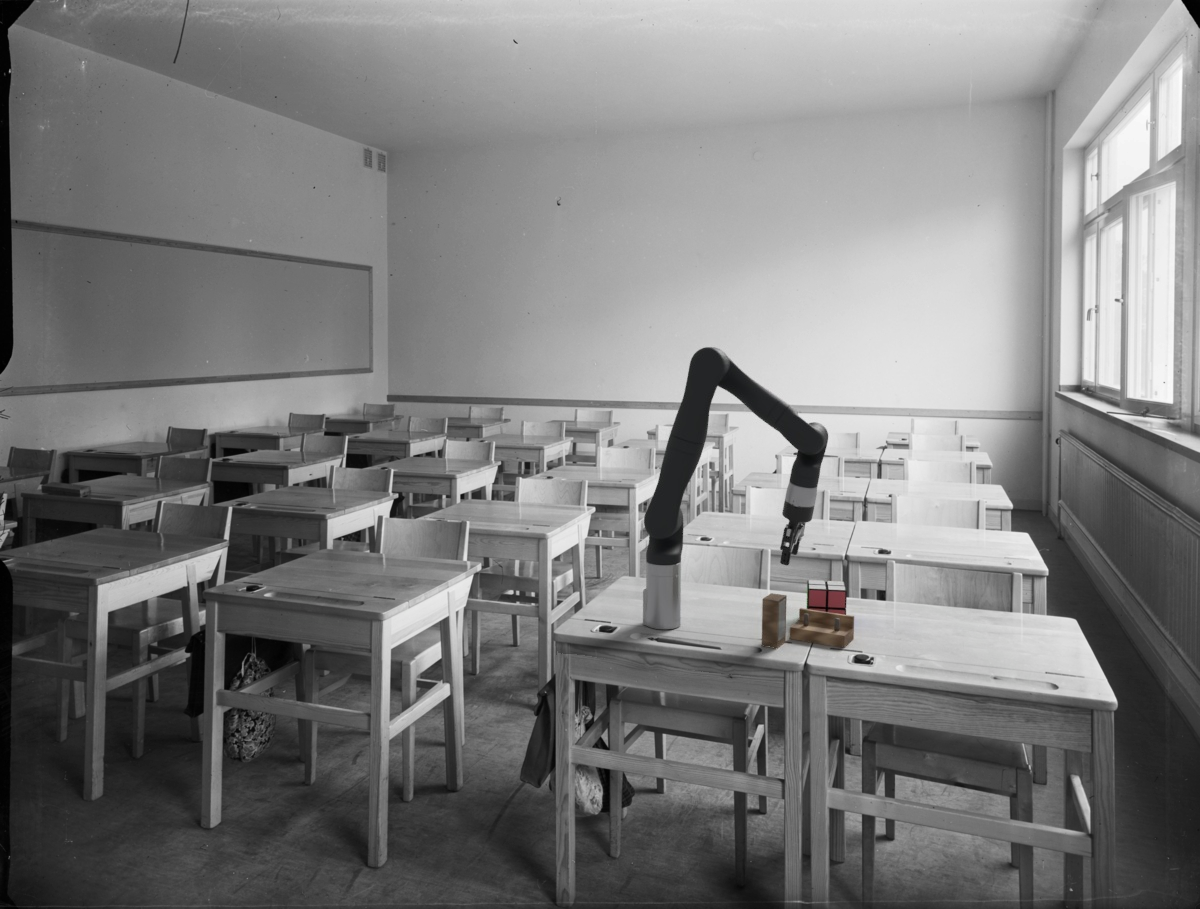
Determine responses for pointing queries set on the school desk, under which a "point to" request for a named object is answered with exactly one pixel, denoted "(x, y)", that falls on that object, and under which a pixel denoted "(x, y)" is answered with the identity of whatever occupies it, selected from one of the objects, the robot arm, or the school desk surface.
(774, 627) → the wooden blocks
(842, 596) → the puzzle cube
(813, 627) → the wooden peg holder
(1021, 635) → the school desk surface
